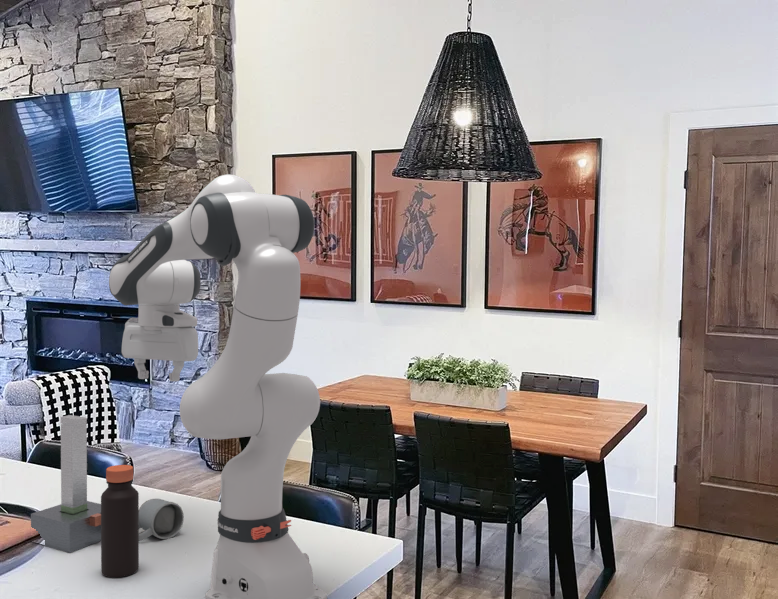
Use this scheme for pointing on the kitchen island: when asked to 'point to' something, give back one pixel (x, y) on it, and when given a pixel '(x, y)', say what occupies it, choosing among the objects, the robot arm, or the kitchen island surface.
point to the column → (73, 464)
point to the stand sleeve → (68, 527)
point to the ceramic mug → (160, 519)
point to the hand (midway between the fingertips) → (158, 380)
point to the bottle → (119, 523)
